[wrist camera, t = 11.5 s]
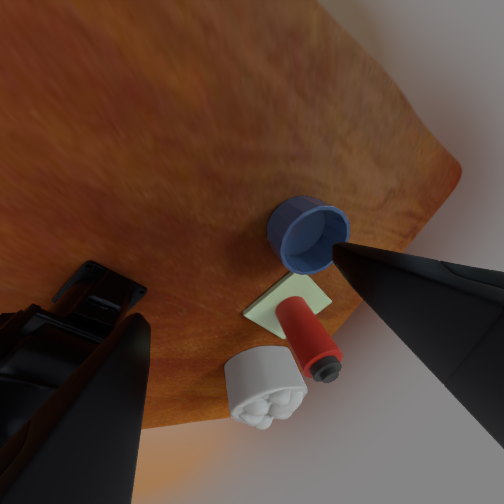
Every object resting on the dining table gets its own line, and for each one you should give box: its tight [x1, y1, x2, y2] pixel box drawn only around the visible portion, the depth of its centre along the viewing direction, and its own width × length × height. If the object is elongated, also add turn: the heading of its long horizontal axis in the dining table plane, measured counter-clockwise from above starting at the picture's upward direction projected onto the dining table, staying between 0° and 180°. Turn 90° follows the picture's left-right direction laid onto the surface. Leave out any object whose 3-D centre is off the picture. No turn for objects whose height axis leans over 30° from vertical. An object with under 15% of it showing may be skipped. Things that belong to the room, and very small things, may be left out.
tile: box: [243, 272, 332, 339], centre depth 29 cm, size 11×11×1 cm
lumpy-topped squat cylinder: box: [224, 346, 308, 430], centre depth 32 cm, size 10×13×9 cm
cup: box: [267, 196, 350, 275], centre depth 21 cm, size 8×8×4 cm
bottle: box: [275, 296, 343, 383], centre depth 25 cm, size 5×5×10 cm
